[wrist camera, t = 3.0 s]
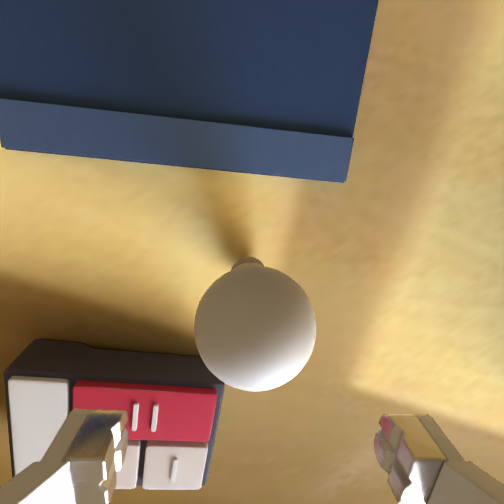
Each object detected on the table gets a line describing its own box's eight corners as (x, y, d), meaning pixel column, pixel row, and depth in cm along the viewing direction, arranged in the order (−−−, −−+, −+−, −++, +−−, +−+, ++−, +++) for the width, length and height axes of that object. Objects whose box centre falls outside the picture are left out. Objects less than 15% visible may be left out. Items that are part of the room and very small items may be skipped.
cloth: (394, -95, 17) (400, -105, 16) (342, 182, 21) (345, 183, 21) (-36, -174, 15) (-49, -189, 14) (9, 149, 19) (1, 149, 19)
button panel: (205, 497, 25) (5, 496, 23) (207, 448, 29) (37, 443, 27) (225, 391, 22) (-6, 377, 20) (224, 353, 26) (32, 337, 24)
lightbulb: (261, 213, 22) (288, 271, 11) (301, 279, 24) (356, 381, 13) (190, 257, 22) (154, 349, 12) (235, 317, 24) (237, 443, 14)
